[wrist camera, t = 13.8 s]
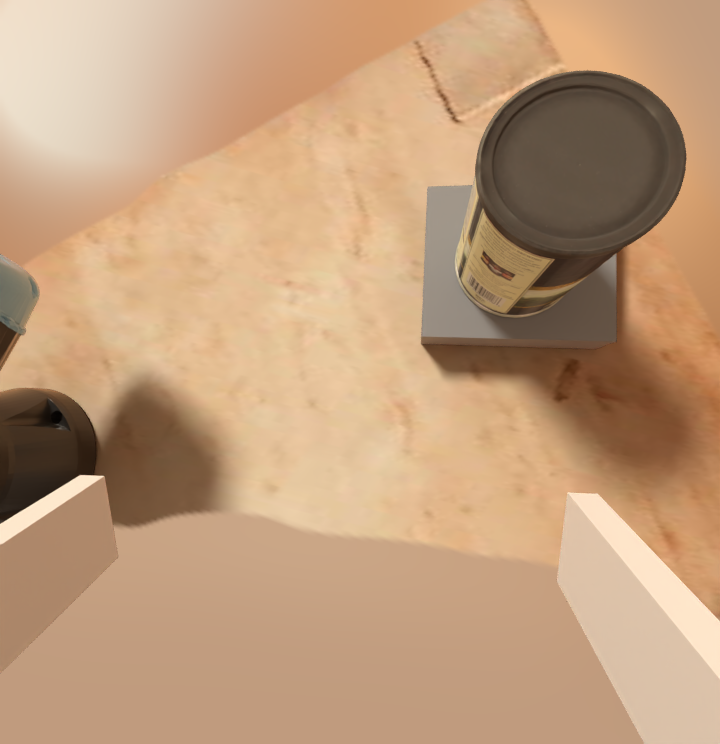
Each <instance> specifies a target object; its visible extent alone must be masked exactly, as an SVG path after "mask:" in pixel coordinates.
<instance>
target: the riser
mask: <svg viewBox="0 0 720 744" xmlns="http://www.w3.org/2000/svg"><path fill="white" fill-rule="evenodd" d="M472 186H473V185H468V186H435V187H428V189H427V213H426V237H425V261H424V286H423V310H422V334H421V344H440V345H474V346H508V347H541V348H575V349H597V348H600V347H603V346H606V345H608V344H611V343H614V342H617V304H616V254H615V255H614V256H613V257H611V258H610V259H609V260H607V261H606V262H605V263H604V264H602V265H601V266H600V267H599V268H597V269H596V270H595V271H593V272H592V273H591V274H590V275H588V276H587V277H586V278H585V279H584V280H582V281H581V282H580V283H579V284H577V285H576V286H575V287H574V288H573V289H571V290H570V291H569V292H568V293H566V294H565V295H564V296H563V297H562V298H561V299H560V300H559V301H558V302H557V303H556V304H554V305H553V306H552V307H550V308H549V309H547V310H545V311H542V312H540V313H538V314H535V315H531V316H527V317H518V318H511V317H501V316H498V315H495V314H492V313H490V312H487V311H485V310H483V309H482V308H480V307H479V306H477V305H476V304H475V303H474V302H472V301H471V300H470V299H469V298H468V296H467V295H466V294H465V293H464V291H463V289H462V288H461V286H460V284H459V281H458V279H457V275H456V271H455V255H456V249H457V246H458V244H459V241H460V237H461V233H462V229H463V225H464V220H465V216H466V212H467V208H468V203H469V199H470V195H471V190H472Z"/></svg>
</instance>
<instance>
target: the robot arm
mask: <svg viewBox="0 0 720 744" xmlns="http://www.w3.org/2000/svg"><path fill="white" fill-rule="evenodd" d="M38 299H39V287H38V284H37V283H36V281H35V279H34V278H33V277H32V276H31V275H30V274H29V273H28V272H27V271H26V270H24V269H23V268H22V267H20V266H19V265H17V264H16V263H14V262H13V261H11V260H10V259H8V258H6V257H4V256H3V255H1V254H0V371H1V369H2V367H3V365H4V364H5V362H6V360H7V358H8V357H9V355H10V353H11V351H12V350H13V348H14V346H15V344H16V343H17V341H18V339H19V338H20V336H21V335H24V334H25V333H26V328H25V326H26V324H27V321H28V319H29V317H30V315H31V313H32V311H33V309H34V307H35V305H36V303H37V301H38ZM95 460H96V445H95V438H94V433H93V430H92V427H91V424H90V422H89V420H88V418H87V416H86V414H85V413H84V411H83V410H82V409H81V408H80V406H79V405H78V404H77V403H76V402H75V401H73V400H72V399H71V398H69V397H68V396H66V395H64V394H62V393H60V392H58V391H54V390H50V389H38V388H17V389H11V390H7V391H3V392H0V673H1V672H2V671H3V670H4V669H6V668H7V667H8V666H9V665H10V664H11V663H12V662H13V661H14V660H15V659H16V658H17V657H18V656H19V655H20V654H21V653H22V651H24V650H25V649H26V648H27V647H28V646H29V645H30V644H31V643H32V642H33V641H34V640H35V639H36V638H37V637H38V636H39V635H40V634H41V633H42V632H43V631H44V630H45V629H46V628H47V627H48V626H49V625H50V624H51V623H52V622H53V621H54V620H55V619H56V618H57V617H58V616H59V615H60V614H61V613H62V612H63V611H64V610H65V609H66V608H67V607H68V606H69V605H70V604H71V603H72V602H73V601H74V600H75V599H76V598H77V597H78V596H79V595H80V594H81V593H82V592H83V591H84V590H85V589H86V588H87V587H88V586H89V585H90V584H91V583H93V581H95V580H96V579H97V578H98V577H99V575H101V574H102V573H103V572H104V570H106V569H107V568H108V567H109V566H110V565H111V563H113V562H114V561H115V560H116V559H117V558H118V553H117V547H116V541H115V535H114V529H113V523H112V517H111V511H110V505H109V499H108V493H107V487H106V481H105V476H93V472H94V467H95ZM557 582H558V584H559V586H560V588H561V590H562V591H563V594H564V595H565V597H566V599H567V601H568V603H569V605H570V606H571V608H572V610H573V612H574V614H575V616H576V618H577V619H578V621H579V623H580V625H581V627H582V629H583V630H584V632H585V634H586V636H587V638H588V640H589V642H590V644H591V646H592V647H593V649H594V651H595V653H596V655H597V657H598V658H599V660H600V662H601V664H602V666H603V668H604V670H605V672H606V673H607V675H608V677H609V679H610V681H611V683H612V685H613V686H614V688H615V690H616V692H617V694H618V696H619V698H620V699H621V701H622V703H623V705H624V707H625V709H626V710H627V712H628V714H629V716H630V717H631V720H632V722H633V723H634V725H635V727H636V729H637V731H638V733H639V735H640V737H641V738H642V740H643V742H644V744H720V621H719V620H718V619H717V618H716V617H715V616H714V615H713V614H712V613H711V612H710V611H709V610H708V609H707V608H706V607H705V606H704V604H703V603H702V602H701V601H700V600H699V599H698V598H697V597H696V596H695V595H694V594H693V593H692V592H691V591H690V590H689V589H688V588H687V587H686V586H685V585H684V584H683V582H682V581H681V580H680V579H679V578H678V577H677V576H676V575H675V574H674V573H673V572H672V571H671V570H670V569H669V568H668V567H667V566H666V565H665V564H664V563H663V562H662V560H661V559H660V558H659V557H658V556H657V555H656V554H655V553H654V552H653V551H652V550H651V549H650V548H649V547H648V546H647V545H646V544H645V543H644V542H643V541H642V540H641V539H640V537H639V536H638V535H637V534H636V533H635V532H634V531H633V530H632V529H631V528H630V527H629V526H628V525H627V524H626V523H625V522H624V521H623V520H622V519H621V518H620V517H619V515H618V514H617V513H616V512H615V511H614V510H613V509H612V508H611V507H610V506H609V505H608V504H607V503H606V502H605V501H604V500H603V499H602V498H601V497H600V496H599V495H598V494H593V493H567V500H566V509H565V517H564V526H563V534H562V543H561V551H560V560H559V568H558V577H557Z"/></svg>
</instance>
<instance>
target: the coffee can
mask: <svg viewBox="0 0 720 744" xmlns="http://www.w3.org/2000/svg"><path fill="white" fill-rule="evenodd" d="M685 165H686V148H685V142H684V138H683V134H682V131H681V129H680V126H679V124H678V123H677V121H676V119H675V117H674V116H673V114H672V112H671V111H670V109H669V108H668V107H667V106H666V104H665V103H663V101H662V100H661V99H660V98H659V97H658V96H656V95H655V94H654V93H653V92H651V91H650V90H649V89H647V88H646V87H644V86H643V85H641V84H639V83H637V82H635V81H633V80H631V79H628V78H626V77H623V76H620V75H616V74H612V73H607V72H601V71H573V72H566V73H561V74H556V75H553V76H550V77H547V78H544V79H541V80H539V81H537V82H535V83H533V84H531V85H529V86H527V87H525V88H524V89H522V90H521V91H519V92H518V93H516V94H515V95H514V96H513V97H511V98H510V99H509V100H508V101H507V102H506V103H505V104H504V105H503V106H502V107H501V108H500V109H499V110H498V111H497V113H496V114H495V115H494V116H493V118H492V120H491V121H490V123H489V124H488V126H487V128H486V130H485V132H484V134H483V137H482V139H481V142H480V145H479V149H478V153H477V159H476V166H475V178H474V182H473V186H472V190H471V195H470V199H469V203H468V208H467V212H466V216H465V220H464V225H463V229H462V233H461V237H460V241H459V244H458V246H457V249H456V255H455V271H456V275H457V279H458V281H459V284H460V286H461V288H462V289H463V291H464V293H465V294H466V295H467V296H468V298H469V299H470V300H471V301H472V302H474V303H475V304H476V305H477V306H479V307H480V308H482V309H483V310H485V311H487V312H490V313H492V314H495V315H498V316H501V317H511V318H518V317H527V316H531V315H535V314H538V313H540V312H542V311H545V310H547V309H549V308H550V307H552V306H553V305H554V304H556V303H557V302H558V301H559V300H560V299H561V298H562V297H563V296H564V295H565V294H566V293H568V292H569V291H570V290H571V289H573V288H574V287H575V286H576V285H577V284H579V283H580V282H581V281H582V280H584V279H585V278H586V277H587V276H588V275H590V274H591V273H592V272H593V271H595V270H596V269H597V268H599V267H600V266H601V265H602V264H604V263H605V262H606V261H607V260H609V259H610V258H611V257H613V256H614V255H615V254H616V253H617V252H619V251H620V250H621V249H622V248H624V247H625V246H627V245H629V244H631V243H632V242H634V241H636V240H637V239H639V238H640V237H642V236H643V235H645V234H646V233H647V232H648V231H650V230H651V229H652V228H653V227H654V226H655V225H657V224H658V223H659V222H660V221H661V219H662V218H663V217H664V216H665V215H666V214H667V212H668V211H669V209H670V208H671V207H672V205H673V203H674V202H675V200H676V198H677V196H678V194H679V191H680V189H681V186H682V182H683V178H684V174H685Z"/></svg>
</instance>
